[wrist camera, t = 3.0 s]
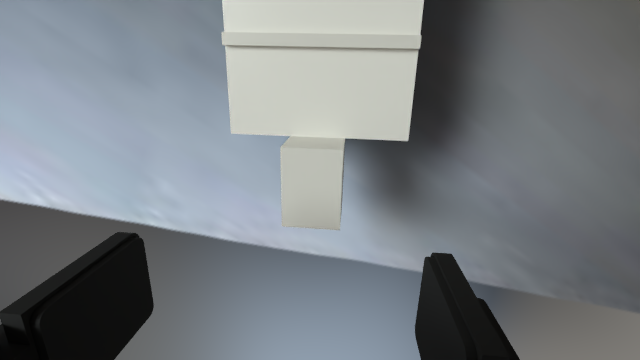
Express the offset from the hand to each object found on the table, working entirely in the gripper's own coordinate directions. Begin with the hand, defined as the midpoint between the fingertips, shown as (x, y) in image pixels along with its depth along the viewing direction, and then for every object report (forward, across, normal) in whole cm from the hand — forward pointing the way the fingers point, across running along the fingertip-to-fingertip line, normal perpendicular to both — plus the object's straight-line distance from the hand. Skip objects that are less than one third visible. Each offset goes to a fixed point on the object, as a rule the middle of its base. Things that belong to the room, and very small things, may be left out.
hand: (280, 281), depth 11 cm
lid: (+9, 0, -9) cm, 13 cm away
